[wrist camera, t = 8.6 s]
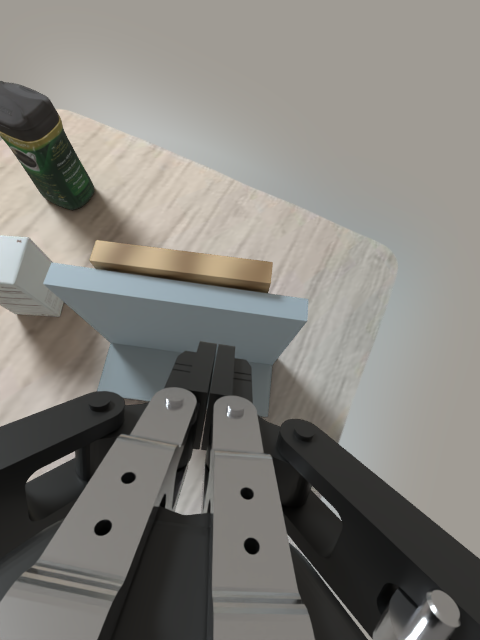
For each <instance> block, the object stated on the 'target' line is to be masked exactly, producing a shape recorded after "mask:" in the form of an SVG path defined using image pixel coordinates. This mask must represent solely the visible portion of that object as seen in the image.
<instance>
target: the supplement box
mask: <svg viewBox="0 0 480 640" xmlns="http://www.w3.org/2000/svg"><path fill="white" fill-rule="evenodd" d="M51 263H53V262H52V261H51V260H50V259H49V258H48V257H47V256H46V255H45V254H44V253H43V252H42V251H41V250H40V249H39V247H38V246H37V245H36V244H35V243H34V242H33V241H32V240H31V239H30V238H29V237H16V236H0V305H1V306H2V307H4V308H6V309H7V310H9V311H11V312H13V313H14V314H21V315H38V316H56V317H59V316H60V314H61V310H62V306H63V301H62V300H61V299H60V298H59V297H57V296H56V295H55V294H54V293H53V292H52V291H51V290H49V289H48V288H47V287H46V286H45V285H44V284H43V283H44V280H45V278H46V275H47V273H48V270H49V267H50V265H51Z"/></svg>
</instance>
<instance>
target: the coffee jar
mask: <svg viewBox="0 0 480 640" xmlns="http://www.w3.org/2000/svg"><path fill="white" fill-rule="evenodd" d="M0 136H1V138H2V139H3V140H4V141H5V142H6V144H7V145H8V146H9V147H10V149H11V150H12V152H13V153H14V154H15V156H16V157H17V159H18V160H19V162H20V163H21V165H22V166H23V168H24V169H25V171H26V172H27V173H28V175H29V177H30V178H31V180H32V181H33V183H34V184H35V186H36V187H37V189H38V190H39V192H40V193H41V194H42V196H43V197H44V198H46V199H47V200H49V201H50V202H52V203H54V204H56V205H58V206H61V207H63V208H66V209H71V210H74V209H77V208H80V207H82V206H83V205H85V204H86V203H87V202H88V201H89V200H90V198H91V197H92V195H93V193H94V185H93V183H92V181H91V179H90V178H89V176H88V174H87V172H86V170H85V169H84V167H83V165H82V164H81V162H80V160H79V158H78V156H77V155H76V153H75V151H74V149H73V147H72V145H71V143H70V142H69V140H68V138H67V136H66V134H65V132H64V129H63V126H62V121H61V118H60V116H59V115H58V113H57V111H56V109H55V108H54V106H53V104H52V103H51V101H50V100H49V99H48V97H46V96H45V95H43V94H41V93H39V92H37V91H34V90H32V89H30V88H27V87H25V86H22V85H19V84H14V83H6V82H3V81H0Z"/></svg>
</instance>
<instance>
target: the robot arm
mask: <svg viewBox="0 0 480 640" xmlns="http://www.w3.org/2000/svg"><path fill="white" fill-rule="evenodd" d="M216 348H217V344H216V343H209V342H203V341H200V342H199V346H198V349H197V352H191V351H184V352H183V353H181V354H180V355H178V356H177V359H176V361H175V364H174V366H173V368H172V371H171V373H170V375H169V378H168V380H167V382H166V385H165V387H164V389H162V390H160V391H158V392H156V393H155V394H154V396H153V397H152V399H151V401H150V402H148V403H144V404H138V405H125V402H124V399H123V398H122V397H121V396H120V395H119V394H117V393H114V392H109V391H97V392H92V393H89V394H86V395H83V396H81V397H78V398H75V399H73V400H70V401H67V402H65V403H62V404H59V405H57V406H54V407H52V408H49V409H46V410H44V411H41V412H38V413H36V414H33V415H30V416H28V417H25V418H22V419H20V420H17V421H15V422H12V423H9V424H7V425H4V426H1V427H0V640H368V639H367V638H366V637H365V635H364V634H363V633H362V631H361V630H360V629H359V627H358V626H357V625H356V623H355V622H354V621H353V620H352V618H351V617H350V616H349V614H348V613H347V612H346V610H345V609H344V608H343V606H342V605H341V604H340V602H339V601H338V600H337V599H336V597H335V596H334V595H333V593H332V592H331V591H330V589H329V588H328V587H327V586H326V584H325V583H324V581H323V580H322V579H321V578H320V576H319V575H318V574H317V572H316V571H315V570H314V568H313V567H312V566H311V564H312V565H313V566H314V567H315V569H316V570H317V571H318V572H319V574H320V575H321V576H322V577H323V579H324V580H325V581H326V582H327V583H328V585H329V586H330V587H331V588H332V590H333V591H334V592H335V593H336V595H337V596H338V597H339V598H340V600H341V601H342V602H343V603H344V604H345V606H346V607H347V608H348V609H349V611H350V612H351V613H352V614H353V616H354V617H355V618H356V619H357V620H358V622H359V623H360V624H361V625H362V627H363V628H364V629H365V630H366V632H367V633H368V634H369V635H370V637H371V638H372V639H373V640H480V559H479V558H478V557H476V556H475V555H474V554H473V553H472V552H470V551H469V550H468V549H467V548H465V547H464V546H463V545H462V544H460V543H459V542H458V541H457V540H456V539H454V538H453V537H452V536H451V535H449V534H448V533H447V532H446V531H444V530H443V529H442V528H441V527H440V526H438V525H437V524H436V523H435V522H433V521H432V520H431V519H430V518H429V517H427V516H426V515H425V514H424V513H422V512H421V511H420V510H419V509H417V508H416V507H415V506H413V504H411V503H410V502H409V501H408V500H406V499H405V498H404V497H403V496H401V495H400V494H399V493H398V492H397V491H395V490H394V489H393V488H392V487H390V486H389V485H388V484H386V483H385V482H384V481H383V480H382V479H381V478H379V477H378V476H377V475H376V474H374V473H373V472H372V471H371V470H370V469H368V468H367V467H366V466H364V465H363V464H362V463H361V462H360V461H358V460H357V459H356V458H355V457H353V456H352V455H351V454H350V453H349V452H347V451H346V450H345V449H344V448H342V447H341V446H340V445H339V444H338V443H336V442H335V441H334V440H333V439H331V438H330V437H329V436H328V435H327V434H325V433H324V432H323V431H322V430H320V429H319V428H318V427H317V426H315V425H314V424H312V423H310V422H308V421H305V420H301V419H290V420H287V421H285V422H284V423H282V425H281V427H279V426H277V425H274V424H272V423H269V422H267V421H265V420H264V419H262V418H261V417H260V416H259V415H258V414H257V410H256V408H255V406H254V405H253V395H252V368H251V366H250V364H249V363H248V361H247V360H245V359H238V358H235V346H229V345H223V344H218V350H217V355H216ZM215 355H216V361H215ZM214 361H215V366H214ZM213 368H214V372H213ZM212 375H213V377H212ZM211 381H212V383H211ZM210 387H211V388H210ZM209 393H210V394H209ZM208 399H209V401H208ZM207 404H208V407H207ZM206 410H207V414H206ZM205 415H206V421H205ZM204 421H205V427H204V434H203V441H202V448H201V450H207V452H206V459H205V465H204V472H203V489H202V505H201V514H194V515H181V514H178V513H176V512H175V509H176V505H177V502H178V499H179V495H180V492H181V489H182V486H183V482H184V479H185V476H186V473H187V469H188V463H189V461H190V459H191V456H192V451H193V449H199V448H200V442H201V437H202V431H203V426H204ZM74 451H75V458H74V459H72V460H70V461H68V462H66V463H64V464H62V465H60V466H58V467H56V468H54V469H52V470H51V471H49V472H47V473H45V474H43V475H41V476H39V477H37V478H35V479H33V480H31V481H29V482H27V480H28V479H29V477H30V476H31V475H32V474H33V473H34V472H36V471H37V470H38V469H40V468H42V467H44V466H46V465H48V464H50V463H52V462H54V461H56V460H58V459H60V458H62V457H64V456H66V455H68V454H70V453H72V452H74ZM26 482H27V483H26ZM312 486H313V487H314V488H315V489H316V490H317V491H318V492H319V493H320V494H321V495H322V496H323V497H324V498H325V499H326V500H327V501H328V502H329V503H330V504H331V505H332V506H333V507H334V508H335V509H336V510H337V512H338V513H339V515H340V517H341V520H342V521H341V520H340V519H339V518H338V517H337V516H336V515H335V514H334V513H333V512H332V511H331V510H330V509H329V508H328V507H327V506H326V505H325V504H324V503H323V502H322V501H321V500H320V499H319V498H318V497H317V496H316V495H315V494H314V493H313V492H312V491H311V487H312ZM287 534H288V535H289V536H290V538H291V539H292V540H293V541H294V543H295V544H296V545H297V546H298V548H299V549H300V550H301V551H302V553H303V554H304V555H305V556H306V557H307V559H308V560H309V561H310V562H311V564H310V563H309V562H308V561H307V559H306V558H305V557H304V556H303V555H302V554H301V553H300V552H299V551H298V550H297V549H296V548H295V547H293V546H292V545H291V544H290V543H289V542H288V537H287Z"/></svg>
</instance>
